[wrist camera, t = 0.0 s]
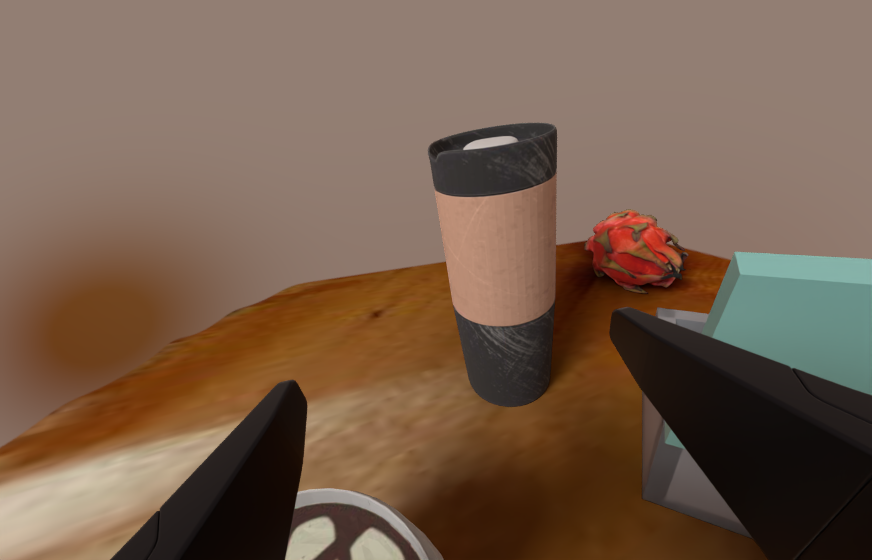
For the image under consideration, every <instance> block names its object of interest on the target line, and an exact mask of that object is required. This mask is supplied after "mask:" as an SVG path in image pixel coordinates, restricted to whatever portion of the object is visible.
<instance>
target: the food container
mask: <svg viewBox="0 0 872 560" xmlns="http://www.w3.org/2000/svg"><path fill="white" fill-rule="evenodd" d="M285 560H444V559H443V557H442V555H441V554H440V553H439V551H438V550H437V549H436V548H435V546H434V545H433V544H432V543H431V541H430V540H429V539H428V538H427V536H426V535H425V534H424V533H423V532H422V531H421V530H419V529H418V528H417V527H416V526H415V525H414V524H413V523H411V522H410V521H409V520H408V519H407V518H406V517H404V516H403V515H402V514H401V513H400V512H399V511H397V510H396V509H395V508H393V507H391V506H390V505H388V504H386V503H385V502H383V501H381V500H379V499H378V498H375V497H372V496H369V495H366V494H363V493H360V492H356V491H348V490H341V489H332V488H326V489H310V490H305V491H301V492H298V493H297V498H296V504H295V509H294V515H293V520H292V525H291V531H290V536H289V541H288V547H287V552H286V557H285Z"/></svg>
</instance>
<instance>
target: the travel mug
mask: <svg viewBox="0 0 872 560" xmlns="http://www.w3.org/2000/svg"><path fill="white" fill-rule="evenodd" d="M428 155H429V159H430V163H431V170H432V176H433V182H434V187H435V195H436V201H437V207H438V213H439V220H440V226H441V232H442V239H443V245H444V251H445V257H446V264H447V270H448V276H449V282H450V289H451V295H452V301H453V306H454V311H455V316H456V321H457V325H458V330H459V335H460V340H461V344H462V349H463V354H464V358H465V363H466V368H467V372H468V377H469V380H470V383H471V385H472V387H473V389H474V390H475V392H476V393H477V394H478V395H479V396H480V397H482V398H483V399H484V400H486V401H488V402H490V403H493V404H496V405H499V406H506V407H515V406H522V405H526V404H528V403H531V402H533V401H535V400H536V399H538V398H539V397H540V396H541V395H542V394H543V393H544V392H545V390H546V389H547V386H548V384H549V380H550V371H551V356H552V340H553V324H554V308H555V274H556V174H557V173H556V168H557V130H556V127H555V126H554V125H552V124H548V123H520V124H510V125H502V126H495V127H488V128H482V129H477V130H472V131H468V132H463V133H459V134H456V135H452V136H449V137H446V138H443V139H440V140H438V141H435V142H433V143H432V144H431V145H430V146H429V148H428Z"/></svg>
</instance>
